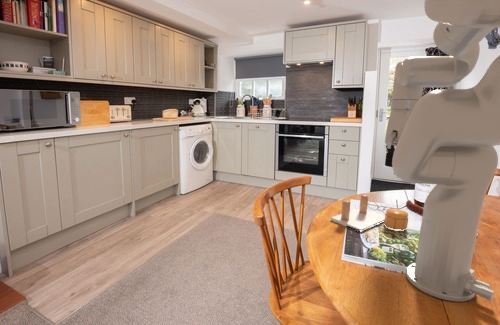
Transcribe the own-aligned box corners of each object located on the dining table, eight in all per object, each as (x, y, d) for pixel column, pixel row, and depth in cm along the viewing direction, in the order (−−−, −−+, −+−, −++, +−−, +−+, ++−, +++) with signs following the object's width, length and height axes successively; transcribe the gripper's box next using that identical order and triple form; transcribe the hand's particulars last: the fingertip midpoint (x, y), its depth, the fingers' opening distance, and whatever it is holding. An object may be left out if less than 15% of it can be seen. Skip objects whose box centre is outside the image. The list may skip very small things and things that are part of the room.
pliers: (420, 226, 92) (421, 219, 92) (404, 205, 112) (405, 198, 111) (462, 231, 90) (463, 223, 89) (438, 208, 109) (439, 201, 108)
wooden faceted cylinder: (409, 228, 90) (411, 213, 89) (399, 233, 86) (401, 217, 85) (390, 221, 95) (392, 207, 94) (380, 226, 91) (382, 211, 90)
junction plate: (389, 220, 96) (391, 199, 95) (360, 232, 87) (363, 210, 85) (359, 210, 105) (361, 191, 103) (330, 220, 95) (332, 199, 94)
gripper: (403, 104, 92) (396, 158, 96) (378, 106, 81) (371, 166, 85) (430, 105, 87) (421, 162, 91) (407, 107, 75) (398, 171, 79)
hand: (397, 164), depth 88 cm, fingers open, 9 cm apart
